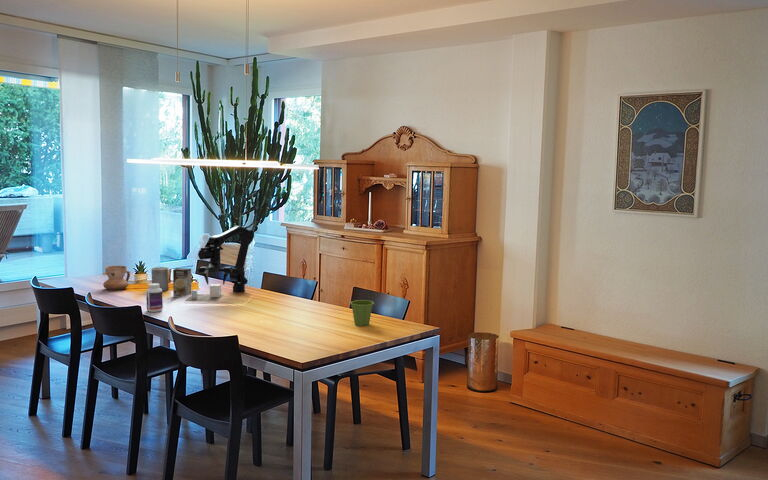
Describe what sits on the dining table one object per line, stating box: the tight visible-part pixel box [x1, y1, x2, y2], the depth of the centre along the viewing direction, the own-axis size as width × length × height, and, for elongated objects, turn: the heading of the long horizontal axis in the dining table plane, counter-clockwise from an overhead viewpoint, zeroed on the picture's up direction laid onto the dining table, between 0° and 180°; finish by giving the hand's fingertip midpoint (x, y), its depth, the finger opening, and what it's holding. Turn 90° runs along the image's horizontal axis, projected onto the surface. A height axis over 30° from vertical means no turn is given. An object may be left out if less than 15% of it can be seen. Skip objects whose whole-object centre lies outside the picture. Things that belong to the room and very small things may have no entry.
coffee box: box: [172, 267, 192, 297], centre depth 394 cm, size 9×6×16 cm
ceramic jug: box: [102, 264, 131, 291], centre depth 410 cm, size 18×14×14 cm
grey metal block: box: [191, 289, 198, 299], centre depth 379 cm, size 3×3×5 cm
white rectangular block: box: [209, 283, 222, 297], centre depth 389 cm, size 5×5×7 cm
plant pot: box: [349, 299, 375, 327], centre depth 330 cm, size 12×12×11 cm
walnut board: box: [184, 293, 224, 302], centre depth 384 cm, size 18×20×1 cm
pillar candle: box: [151, 266, 170, 292], centre depth 409 cm, size 10×10×15 cm
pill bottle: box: [145, 283, 164, 313], centre depth 352 cm, size 8×8×14 cm
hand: (215, 284), depth 388 cm, fingers open, 9 cm apart
